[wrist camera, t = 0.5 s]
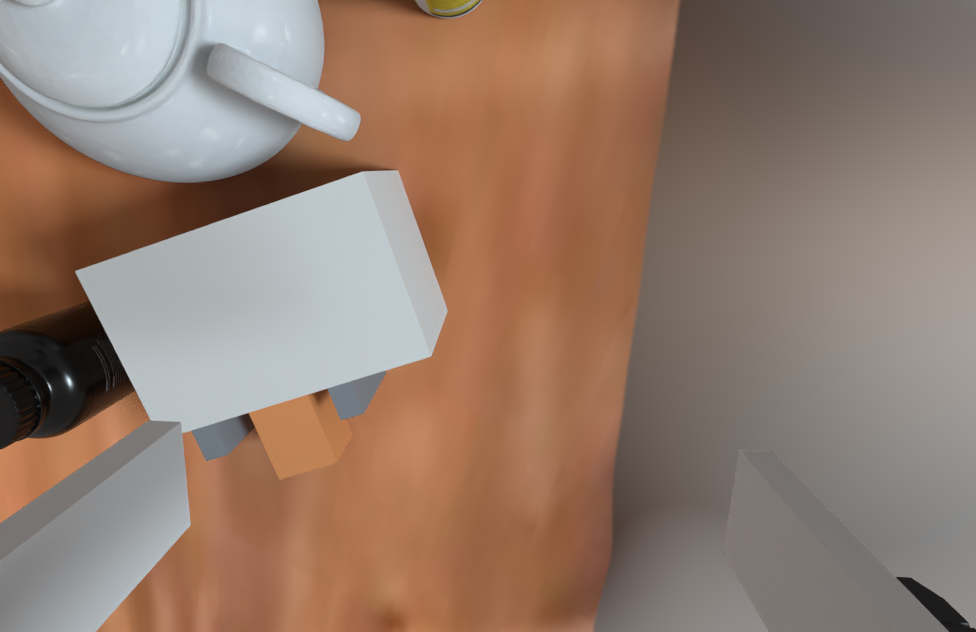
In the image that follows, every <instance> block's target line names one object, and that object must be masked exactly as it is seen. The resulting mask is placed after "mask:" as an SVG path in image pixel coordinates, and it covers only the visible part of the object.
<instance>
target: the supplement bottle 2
mask: <svg viewBox="0 0 976 632" xmlns="http://www.w3.org/2000/svg"><path fill="white" fill-rule="evenodd" d="M414 1H415V3H416V4H417V5H418V6H419V7H420V8H421V9H423V10H424V11H425V12H427V13H429V14H431V15H433V16H436V17H439V18H445V19H452V18H458V17H461V16H464V15H466V14H468V13H470V12H471V11H473V10H474V9H475V8H476V7H477V6H478V5H479V4H480V3H481V2H482V0H414Z"/></svg>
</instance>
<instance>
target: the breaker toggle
mask: <svg viewBox="0 0 976 632" xmlns="http://www.w3.org/2000/svg"><path fill="white" fill-rule="evenodd" d="M249 415H250V417H251V419H252V421H253V424H254V426H255V428H256V430H257V432H258V434H259V437H260V439H261V441H262V443H263V445H264V447H265V449H266V452H267V454H268V456H269V458H270V460H271V462H272V465H273V467H274V469H275V471H276V473H277V475H278V478H279V480H281V479H284V478H287V477H291V476H294V475H297V474H301V473H304V472H308V471H311V470H314V469H318V468H321V467H325V466H328V465H331V464H335V463H337V462H338V460H339V458H340V457H341V455H342V453H343V451H344V449H345V448H346V446H347V444H348V442H349V440H350V438H351V437H352V435H353V434H352V432H351V429H350V427H349V425H348V422H347V420H346V419H344V420H340V417H339V415H338V413H337V410H336V408H335V406H334V403H333V401H332V399H331V396H330V394H329V391H328V389H324V390H321V391H318V392H314V393H311V394H308V395H305V396H301V397H298V398H295V399H292V400H288V401H285V402H282V403H279V404H276V405H272V406H269V407H266V408H263V409H259V410H256V411H253V412H250V413H249Z"/></svg>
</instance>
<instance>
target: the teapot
mask: <svg viewBox="0 0 976 632" xmlns="http://www.w3.org/2000/svg"><path fill="white" fill-rule="evenodd" d="M323 62H324V32H323V23H322V18H321V13H320V8H319V4H318V1H317V0H0V77H1V79H2V80H3V81H4V83H5V84H6V86H7V87H8V88H9V90H10V91H11V92H12V94H13V95H14V96H15V97H16V98H17V100H18V101H19V102H20V103H21V104H22V105H23V106H24V107H25V108H26V109H27V111H28V112H29V113H30V114H31V115H32V116H33V117H34V118H35V119H37V120H38V121H39V122H40V123H41V124H42V125H43V126H44V127H45V128H47V129H48V130H49V131H50V132H51V133H53V134H54V135H55V136H57V137H58V138H59V139H61V140H62V141H63V142H65V143H66V144H68V145H69V146H71V147H72V148H74V149H76V150H77V151H79V152H81V153H83V154H84V155H86V156H88V157H90V158H92V159H94V160H96V161H98V162H100V163H102V164H104V165H106V166H109V167H111V168H114V169H116V170H119V171H122V172H125V173H128V174H131V175H135V176H139V177H143V178H147V179H152V180H158V181H165V182H177V183H197V182H207V181H214V180H220V179H224V178H228V177H232V176H235V175H238V174H241V173H244V172H246V171H248V170H251V169H253V168H255V167H257V166H259V165H260V164H262V163H264V162H265V161H267V160H269V159H270V158H271V157H273V156H274V155H275V154H277V153H278V152H279V151H280V150H281V149H282V148H283V147H284V146H285V145H286V144H287V143H288V142H289V141H290V140H291V139H292V138H293V136H294V135H295V134H296V133H297V131H298V130H299V128H300V127H301V125H302V124H305V125H307V126H309V127H311V128H313V129H316V130H319V131H322V132H324V133H326V134H328V135H330V136H333V137H335V138H337V139H340V140H343V141H349V140H351V139H352V138H353V137H354V135H355V134H356V132H357V130H358V127H359V125H360V121H361V118H360V114H359V113H358V112H357V111H355V110H354V109H352V108H350V107H349V106H347V105H345V104H343V103H342V102H340V101H338V100H336V99H334V98H332V97H330V96H328V95H327V94H325V93H324V92H322V91H321V90H319V89H318V86H319V82H320V78H321V74H322V68H323Z"/></svg>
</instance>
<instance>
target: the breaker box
mask: <svg viewBox="0 0 976 632" xmlns="http://www.w3.org/2000/svg"><path fill="white" fill-rule="evenodd" d="M75 273H76V275H77V276H78V278H79V280H80V282H81V284H82V286H83V288H84V290H85V292H86V294H87V296H88V298H89V300H90V302H91V304H92V306H93V308H94V310H95V312H96V314H97V316H98V318H99V320H100V322H101V324H102V326H103V327H104V329H105V331H106V333H107V335H108V337H109V339H110V341H111V343H112V345H113V347H114V349H115V351H116V353H117V355H118V357H119V359H120V361H121V363H122V365H123V367H124V369H125V371H126V373H127V375H128V377H129V378H130V380H131V382H132V384H133V386H134V388H135V390H136V392H137V394H138V396H139V398H140V400H141V402H142V404H143V406H144V408H145V410H146V412H147V414H148V416H149V418H150V420H151V421H171V422H181V426H182V433H185V432H188V431H192V433H193V435H194V437H195V439H196V441H197V443H198V445H199V447H200V449H201V451H202V453H203V455H204V457H205V459H206V461H208V460H211V459H215V458H218V457H221V456H225V455H228V454H229V453H230V452H231V451H232V450H233V449H234V448H235V447H236V446H237V445H238V444H239V443H240V442H241V440H242V439H243V438H244V437H245V436H246V435H247V434H248V433H249V432H250V431H251V430H252V429H253V428H254V427H255V426H254V424H253V421H252V419H251V417H250V415H249V413H250V412H253V411H256V410H259V409H263V408H266V407H269V406H272V405H276V404H279V403H282V402H285V401H288V400H292V399H295V398H298V397H301V396H305V395H308V394H311V393H314V392H318V391H321V390H324V389H328V391H329V394H330V396H331V399H332V401H333V403H334V406H335V408H336V410H337V413H338V415H339V417H340V420H344V419H347V418H350V417H354V416H357V415H360V414H363V413H364V412H365V410H366V409H367V407H368V405H369V403H370V401H371V399H372V398H373V396H374V394H375V392H376V390H377V389H378V387H379V385H380V383H381V381H382V380H383V378H384V376H385V374H386V370H389V369H392V368H395V367H398V366H402V365H405V364H408V363H411V362H415V361H418V360H421V359H424V358H428V357H431V355H432V353H433V350H434V347H435V344H436V342H437V339H438V336H439V333H440V331H441V328H442V325H443V322H444V320H445V317H446V314H447V312H448V310H447V307H446V304H445V301H444V299H443V296H442V293H441V290H440V287H439V285H438V282H437V279H436V276H435V273H434V271H433V268H432V265H431V262H430V259H429V257H428V254H427V251H426V248H425V245H424V242H423V240H422V237H421V234H420V231H419V228H418V226H417V223H416V220H415V217H414V214H413V212H412V209H411V206H410V203H409V200H408V197H407V195H406V192H405V189H404V186H403V183H402V181H401V178H400V175H399V172H398V170H391V171H362V172H359V173H357V174H354V175H351V176H348V177H345V178H342V179H339V180H336V181H333V182H331V183H328V184H325V185H322V186H319V187H316V188H313V189H310V190H308V191H305V192H302V193H299V194H296V195H293V196H290V197H287V198H284V199H282V200H279V201H276V202H273V203H270V204H267V205H264V206H261V207H258V208H256V209H253V210H250V211H247V212H244V213H241V214H238V215H235V216H233V217H230V218H227V219H224V220H221V221H218V222H215V223H212V224H209V225H207V226H204V227H201V228H198V229H195V230H192V231H189V232H186V233H183V234H181V235H178V236H175V237H172V238H169V239H166V240H163V241H160V242H158V243H155V244H152V245H149V246H146V247H143V248H140V249H137V250H134V251H132V252H129V253H126V254H123V255H120V256H117V257H114V258H111V259H108V260H106V261H103V262H100V263H97V264H94V265H91V266H88V267H85V268H83V269H80V270H77V271H75Z"/></svg>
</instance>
